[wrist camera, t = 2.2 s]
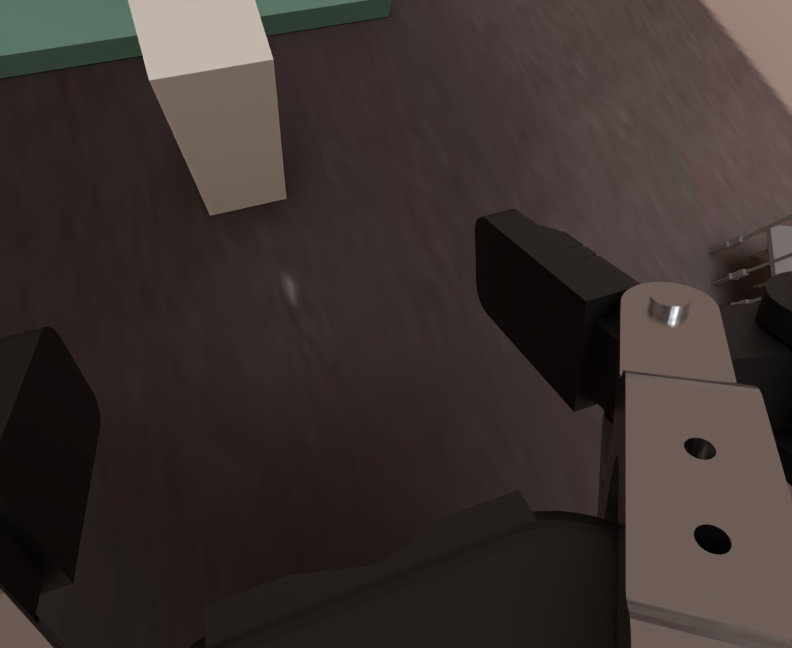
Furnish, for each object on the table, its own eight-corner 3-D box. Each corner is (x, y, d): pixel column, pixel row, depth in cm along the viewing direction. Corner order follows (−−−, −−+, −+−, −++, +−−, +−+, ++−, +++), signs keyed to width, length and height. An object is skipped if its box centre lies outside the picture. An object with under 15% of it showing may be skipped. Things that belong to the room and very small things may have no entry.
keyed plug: (286, 198, 29) (273, 59, 18) (210, 215, 28) (149, 80, 17) (261, 115, 29) (234, -67, 19) (186, 129, 29) (113, -52, 18)
